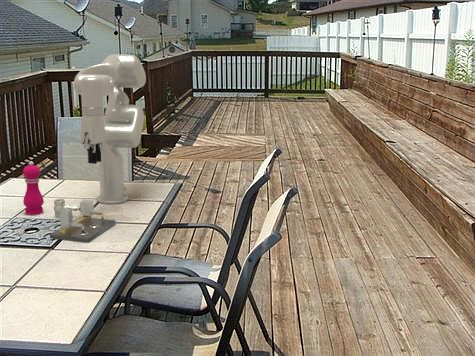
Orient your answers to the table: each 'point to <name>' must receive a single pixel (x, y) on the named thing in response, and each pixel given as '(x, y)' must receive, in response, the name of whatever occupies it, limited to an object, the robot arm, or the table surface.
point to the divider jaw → (89, 209)
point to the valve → (62, 207)
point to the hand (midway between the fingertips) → (94, 161)
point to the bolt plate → (80, 227)
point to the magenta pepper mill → (32, 190)
